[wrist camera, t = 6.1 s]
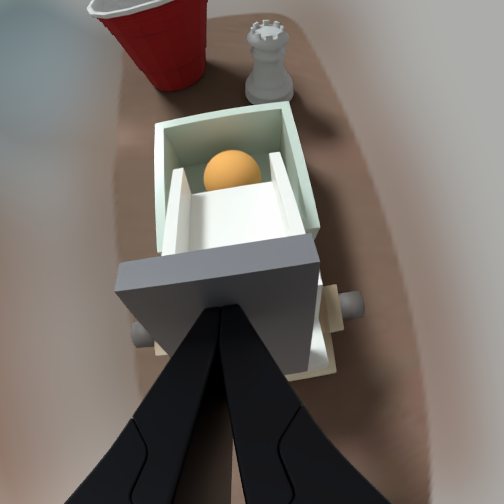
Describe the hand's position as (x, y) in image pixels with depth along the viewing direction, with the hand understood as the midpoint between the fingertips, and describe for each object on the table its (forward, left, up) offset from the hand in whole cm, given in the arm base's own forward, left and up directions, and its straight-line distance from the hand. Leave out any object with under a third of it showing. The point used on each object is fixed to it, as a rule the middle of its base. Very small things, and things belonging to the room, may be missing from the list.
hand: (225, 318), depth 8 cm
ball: (+7, +7, -12) cm, 16 cm away
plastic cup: (+15, +21, -15) cm, 30 cm away
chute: (+2, +2, -7) cm, 8 cm away
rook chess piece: (+17, +11, -15) cm, 25 cm away
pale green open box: (+6, +6, -15) cm, 17 cm away
